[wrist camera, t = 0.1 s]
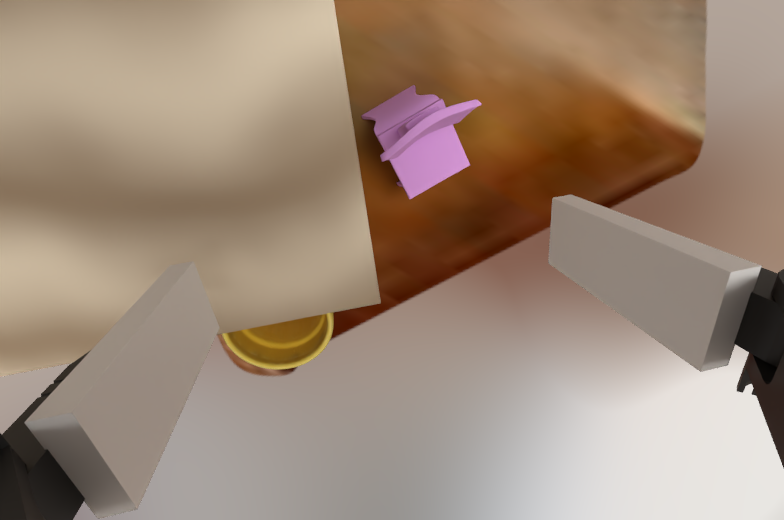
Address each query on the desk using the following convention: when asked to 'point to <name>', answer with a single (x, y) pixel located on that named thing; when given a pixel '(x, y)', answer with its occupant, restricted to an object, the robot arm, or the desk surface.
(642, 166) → the desk surface
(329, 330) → the plant pot
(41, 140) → the canopy shelf
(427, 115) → the toy chair
